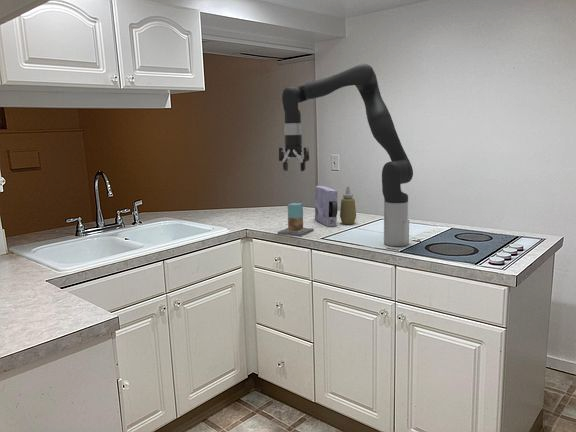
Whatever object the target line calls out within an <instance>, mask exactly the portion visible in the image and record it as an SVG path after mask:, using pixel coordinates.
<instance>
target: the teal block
mask: <svg viewBox="0 0 576 432" xmlns="http://www.w3.org/2000/svg"><path fill="white" fill-rule="evenodd" d="M303 204H304V203H303V202H301V203H299V202H292V203H289V204H287V219H288V218H296V219H298V218H301V217H303V218H304V205H303Z"/></svg>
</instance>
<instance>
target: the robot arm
mask: <svg viewBox="0 0 576 432" xmlns="http://www.w3.org/2000/svg"><path fill="white" fill-rule="evenodd" d="M350 86H355V88H356V89H357V90H358V92H359V94H360V96H361V99H362V101H363V104H364V108H365V113H366V118H367V119H366V120H367V123H368V126H369V129H370V131H371V134H372V137H373V138H374V139H375V141H376V142H377V143H378V144H379V145H380V146H381V147H382V148H383V149H384V150H385V151H386V153H387V155H388V156H389V159H390V160H391V161H388V162H385V163H384V165H383V166H382V170H381V187H382V188H381V190H382V195H383V200H384V201H383V202H384V203H383V211H384V212H383V244H384V245H386V246H391V247H406V246H407V245H408V244H409V243H410V219H409V217H408V216H409V195H408V194H407V193H406V192H403V191H402V188H401V187H402V186H401V185H403V184H408V183H410V182H411V181H412V179H413V176H414V170H413V166H412V164H411V161H410V160H409V158H408V156H407V154H406V152H405V150H404V148H403V145H402V142H401V140H400V138H399V135H398V133H397V130H396V128H395V124H394V121H393V118H392V116H391V114H390V112H389V109H388V107H387V105H386V103H385V102H384V100H383V99H384V98H383V97H382V95H381V92H380V87H379V83H378V79H377V74H376V73H375V71H374V68H373V67H372V66H371V65H370V64H367V63H360V64H357V65H354V66H353V67H350V68H348V69H346V70H343V71H341V72H338V73H336V74H333V75H331V76H328V77H325V78H319V79H317V80H312V81H309V82H306V83H304V84H302V85H300V86H287V87H284V89H283V90H282V93H281V100H282V101H281V102H282V107H283V108H282V109H283V112H284V146H285V147H281V146H280V147H279V148H278V161H279V162H282V169H283V171H284V172H287V171H288V170H289V164H288V163H289V162H288V161H289V159H291V158H297V159H298V160H299V162H300V172H304V171H305V170H306V162H309V161H310V151H309V147H308V146H305V147H303V146H302V145H303V138H302V137H303V132H302V131H303V130H302V123H301V122H302V117H301V111H300V109H299V103H300V104H301V103H303V102H305V101H309V100H314V99H318V98H323V97H325V96H327V95H330V94H332V93H334V92H335V91H337V90H339V89H342V88H345V87H350ZM302 152H303V153H302Z"/></svg>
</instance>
